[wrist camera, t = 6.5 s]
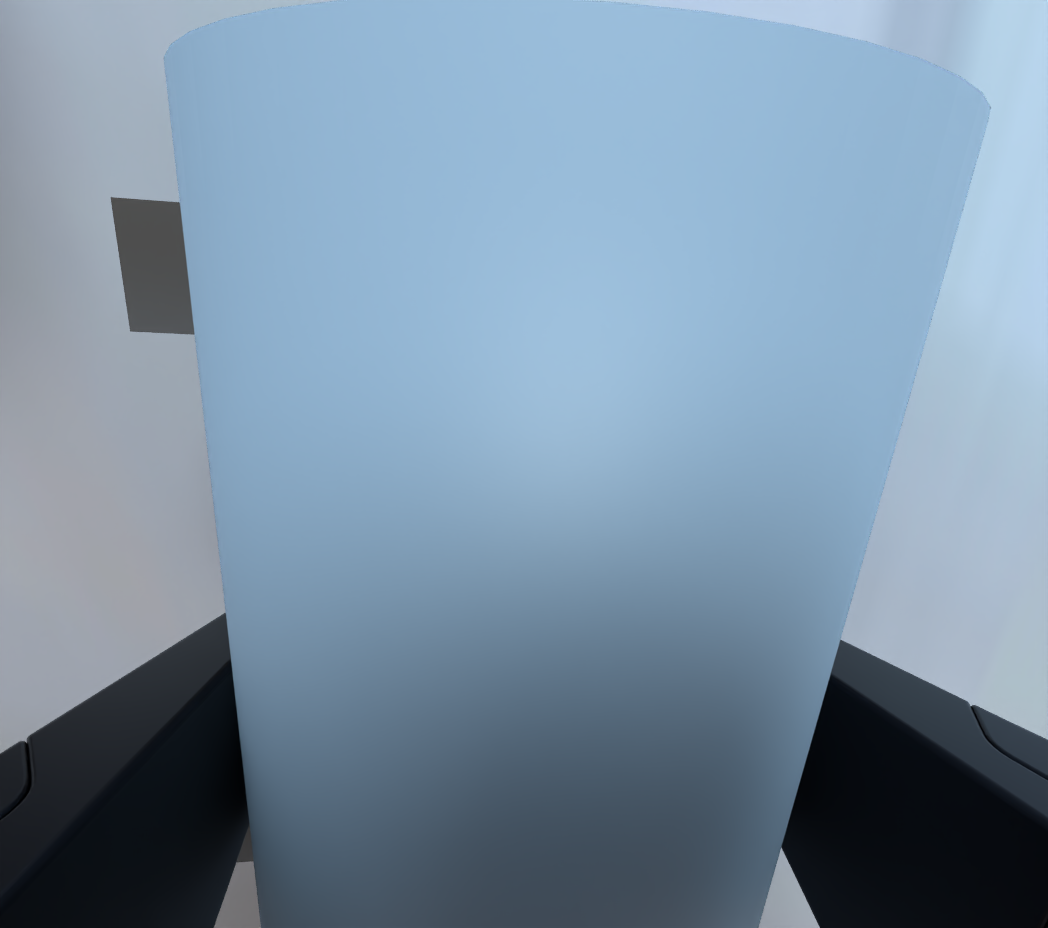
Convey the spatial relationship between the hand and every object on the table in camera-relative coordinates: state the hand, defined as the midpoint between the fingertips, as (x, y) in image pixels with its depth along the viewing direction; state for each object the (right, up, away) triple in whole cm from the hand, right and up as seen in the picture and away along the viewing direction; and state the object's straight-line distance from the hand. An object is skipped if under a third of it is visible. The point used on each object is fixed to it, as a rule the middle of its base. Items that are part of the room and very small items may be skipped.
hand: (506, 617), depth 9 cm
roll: (0, -1, -2) cm, 2 cm away
